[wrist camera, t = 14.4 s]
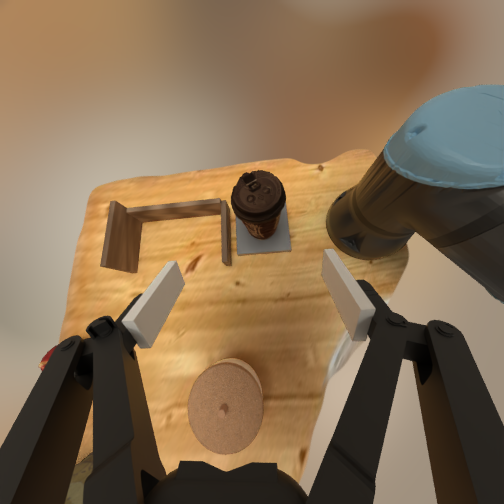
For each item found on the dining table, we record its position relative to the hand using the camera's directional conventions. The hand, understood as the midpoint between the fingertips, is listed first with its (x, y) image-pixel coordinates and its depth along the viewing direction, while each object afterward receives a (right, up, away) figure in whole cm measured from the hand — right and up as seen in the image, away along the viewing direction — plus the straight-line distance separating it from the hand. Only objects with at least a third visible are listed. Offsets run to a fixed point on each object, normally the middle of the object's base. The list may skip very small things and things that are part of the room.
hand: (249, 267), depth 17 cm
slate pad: (+2, +6, +23) cm, 24 cm away
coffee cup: (+2, +7, +23) cm, 24 cm away
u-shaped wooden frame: (-15, +4, +25) cm, 29 cm away
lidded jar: (-3, -22, +17) cm, 28 cm away
